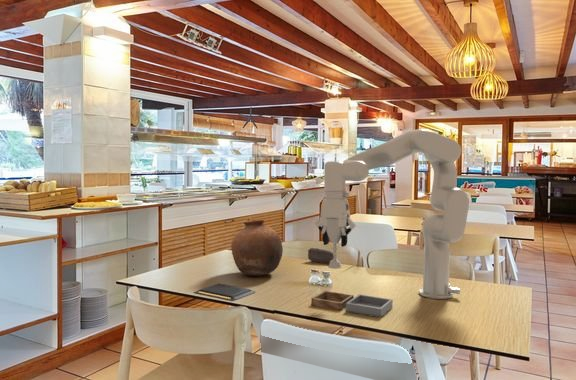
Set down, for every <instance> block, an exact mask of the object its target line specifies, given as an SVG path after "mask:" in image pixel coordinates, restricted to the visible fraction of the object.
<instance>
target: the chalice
mask: <svg viewBox="0 0 576 380" xmlns="http://www.w3.org/2000/svg"><path fill="white" fill-rule="evenodd" d="M326 220H327V227H326V231H327V234H328V237H329V242H330V243H332V244H333V247H332V251H333V252H332V253H333V256H334V258H333V260H331V261H330V263H328V266H327V267H328V268H329V269H332V270H334V269H335V270H336V269H337V270H338V269H341V268H342V267H343V266H342V264H341V262H340V260H338V258H337V256H338V253H337V250H338V248H337V244H339V243H340V241H341V236H342V235H343V234H342V231H341V229H340V227H338V220H339V219H327V218H326Z"/></svg>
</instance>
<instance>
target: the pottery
mask: <svg viewBox="0 0 576 380" xmlns="http://www.w3.org/2000/svg"><path fill="white" fill-rule="evenodd" d="M265 220H266V219H264V218H263V219H253V220H249V221H248V220H247V221H243V224H244V225H245V226H244V228H242V229H241V230H240V231H239V232H237V233H236V235H234V237H233V239H232V240H231V245H230V247H231V249H230V250H231V254H232V257H233V260H234V264H235V266H236V267H237V270H238V271H239V272H240V273H242V274H243V275H245V276H254V277H255V276H256V277H257V276H265V275H268V274H271V273H272V272H274V271H275V270H276V269H277V268H278V267H279V265H280V263H281V259H282V257H283V252H284V248H283V243H282V240H281V238H280V237H281V236H280V235H279V234H278V233H277V231H276V230H274V229H273V228H272V227H269V226H268V225H265V224H264V222H265Z"/></svg>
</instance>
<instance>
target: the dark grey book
mask: <svg viewBox="0 0 576 380" xmlns="http://www.w3.org/2000/svg"><path fill="white" fill-rule="evenodd" d="M255 293H256V291H254V290H252V289H249V288H245V287H239V286H235V285H230V284H223V283H216V284H213V285H210V286H207V287H204V288H201V289H198V290H197V291H194V292H193V294H196V295H201V296H206V297H211V298H214V299H215V298H216V299H219V300H225V301H229V302H234V301H238V300H240V299H242V298H245V297H249V296H251V295H253V294H255Z"/></svg>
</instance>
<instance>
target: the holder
mask: <svg viewBox="0 0 576 380" xmlns="http://www.w3.org/2000/svg"><path fill="white" fill-rule="evenodd" d="M354 297H355V296H354V294H348V293H342V292H337V291H330V290H324V291H322V292H320V293H318V294H316V295H315V296H313V297H311V306H314V307H319V306H320V308H325V307H326V308H327V309H331V308H332V309H331V310H336V309H339V310H338V311H342V309H343V308H344V309H346V303H347V302H348V301H350V300H351V299H353V298H354ZM327 299H329V300H327ZM331 299H332V300H331ZM333 300H337V301H333ZM341 300H342V301H341ZM339 301H341V302H339ZM326 308H325V309H326ZM344 309H343V310H344Z"/></svg>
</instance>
